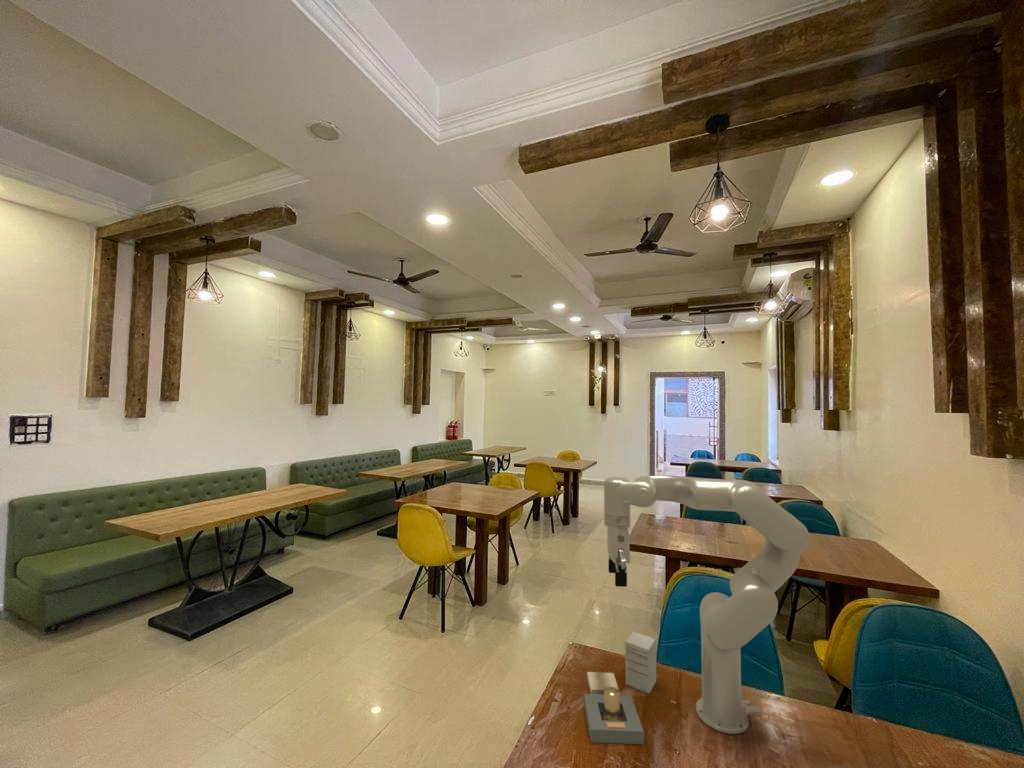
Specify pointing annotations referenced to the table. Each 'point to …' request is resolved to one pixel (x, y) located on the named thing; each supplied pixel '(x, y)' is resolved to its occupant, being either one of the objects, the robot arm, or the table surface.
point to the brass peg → (611, 704)
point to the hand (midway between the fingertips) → (617, 579)
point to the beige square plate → (600, 682)
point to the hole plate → (613, 730)
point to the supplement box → (640, 662)
